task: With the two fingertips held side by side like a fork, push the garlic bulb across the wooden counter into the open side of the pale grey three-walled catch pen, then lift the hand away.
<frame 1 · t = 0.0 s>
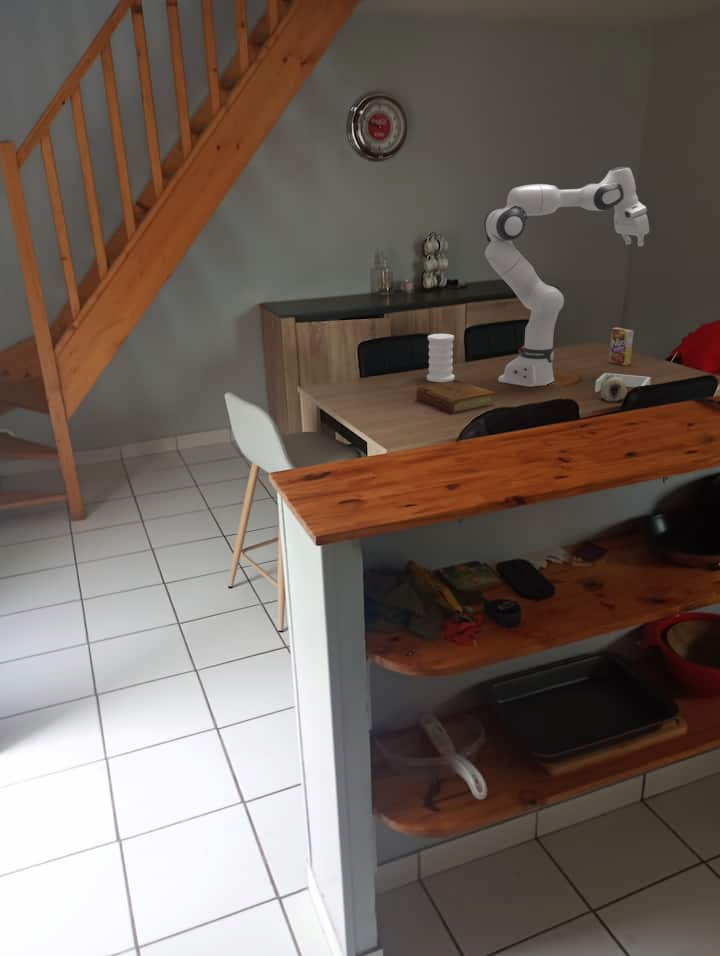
hand: (634, 244, 290), 52 cm above the table, tool tilted 20°, fingers open, 8 cm apart
candy box: (619, 363, 328), on the table
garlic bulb: (613, 400, 276), on the table
catch pen: (622, 390, 287), on the table
decorative container: (440, 379, 313), on the table
diary: (454, 404, 279), on the table
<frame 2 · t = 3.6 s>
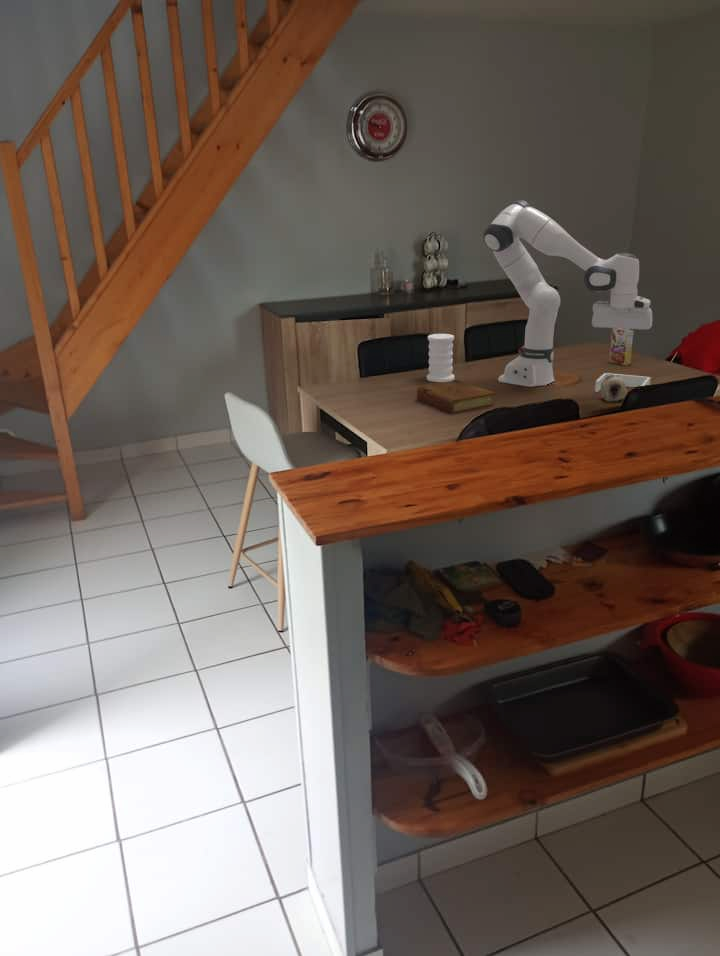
hand: (620, 340, 265), 23 cm above the table, tool pointing down, fingers closed
nothing on the table moved.
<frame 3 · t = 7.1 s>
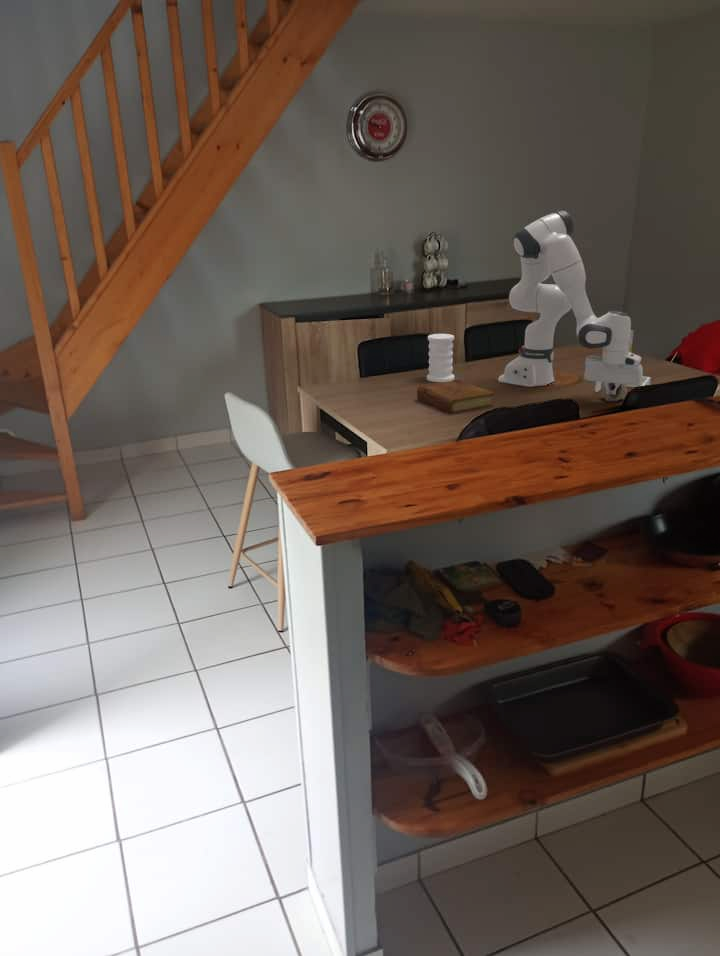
hand: (611, 394, 272), 3 cm above the table, tool pointing down, fingers closed
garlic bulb: (613, 399, 276), on the table, touching gripper
everything else where it was.
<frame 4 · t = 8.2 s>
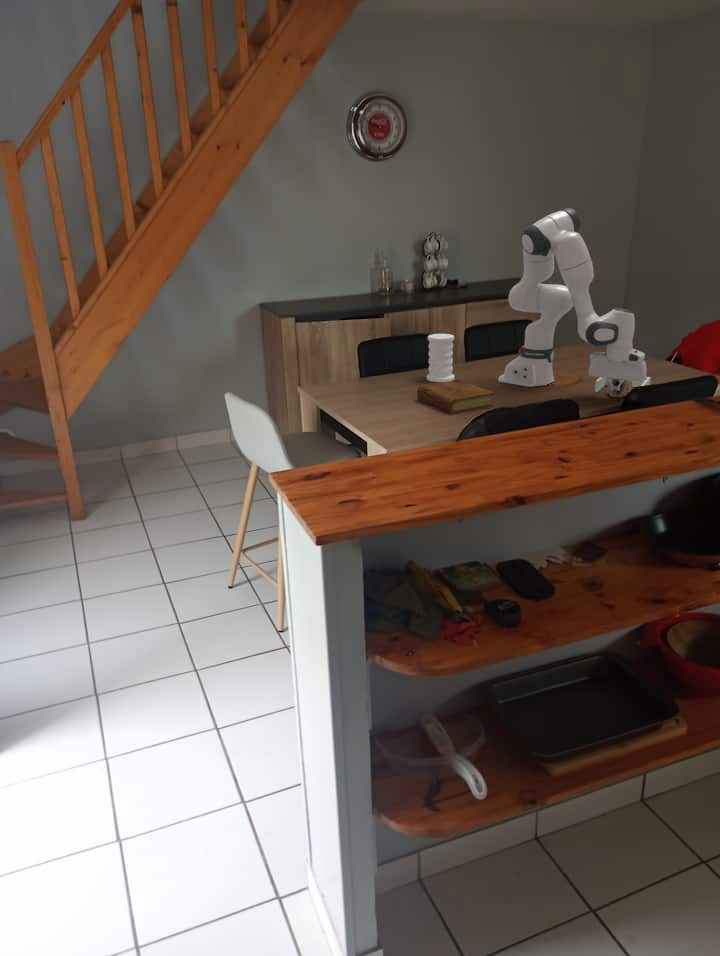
hand: (615, 390, 276), 3 cm above the table, tool pointing down, fingers closed, pressing on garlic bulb
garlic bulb: (618, 396, 280), on the table, touching gripper
everything else where it was.
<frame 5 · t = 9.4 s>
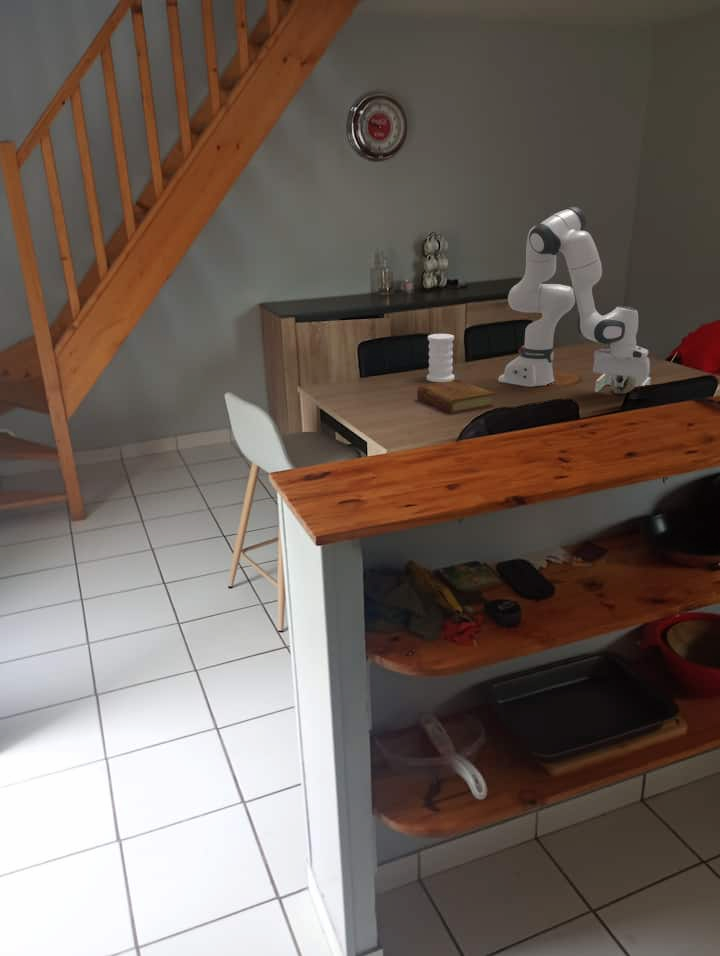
hand: (619, 386, 281), 3 cm above the table, tool pointing down, fingers closed, pressing on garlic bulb
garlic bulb: (622, 392, 285), on the table, touching gripper
everything else where it was.
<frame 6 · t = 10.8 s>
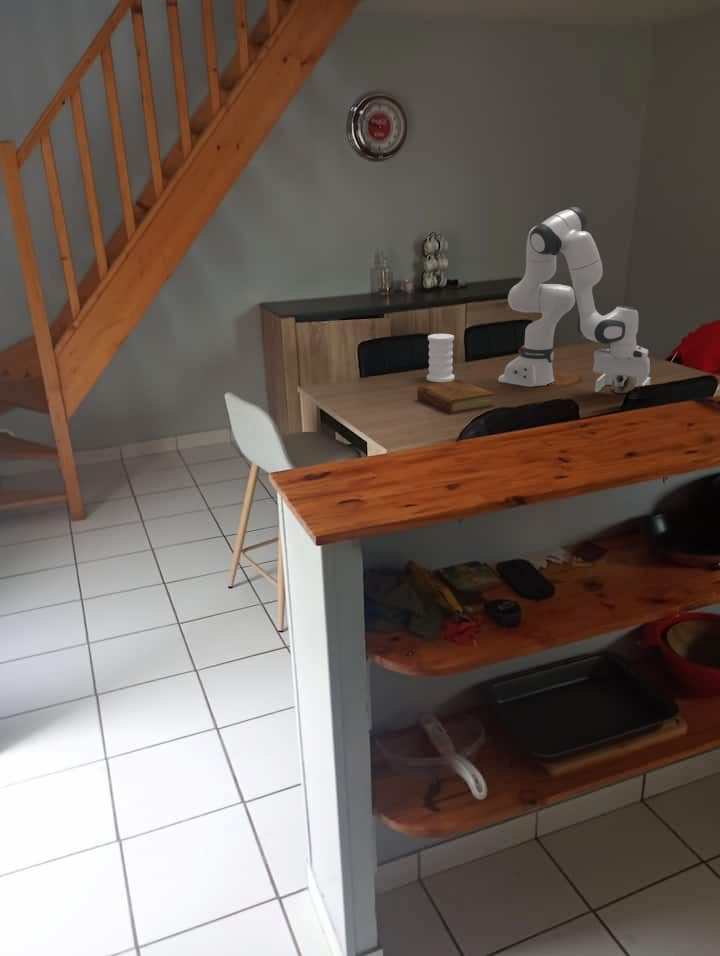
hand: (619, 386, 281), 3 cm above the table, tool pointing down, fingers closed
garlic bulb: (623, 392, 286), on the table
everything else where it was.
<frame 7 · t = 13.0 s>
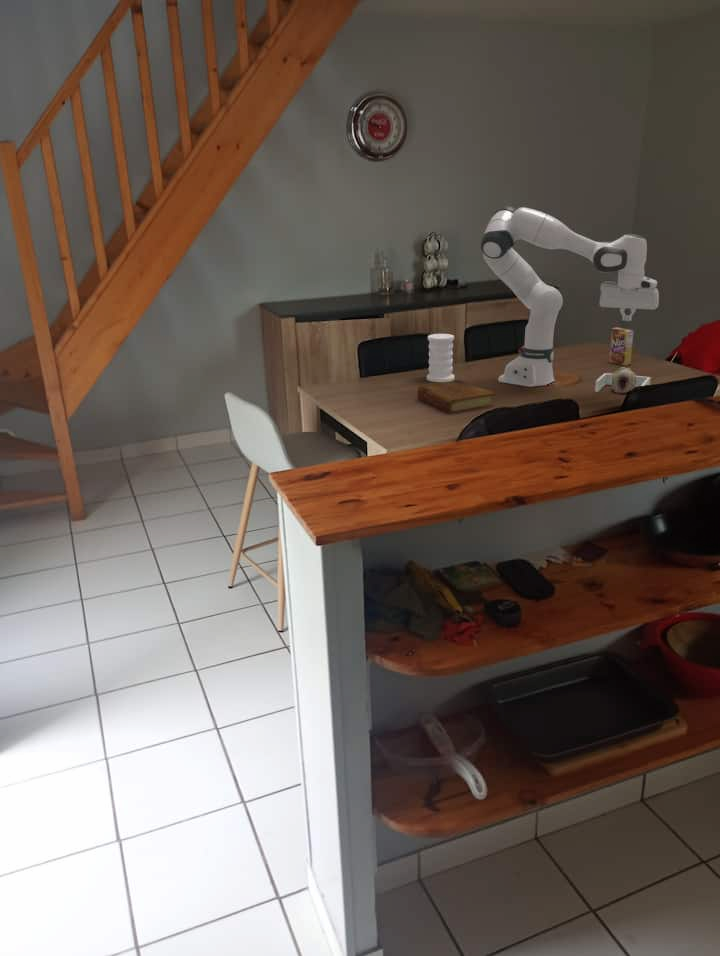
hand: (626, 320, 270), 28 cm above the table, tool pointing down, fingers closed
nothing on the table moved.
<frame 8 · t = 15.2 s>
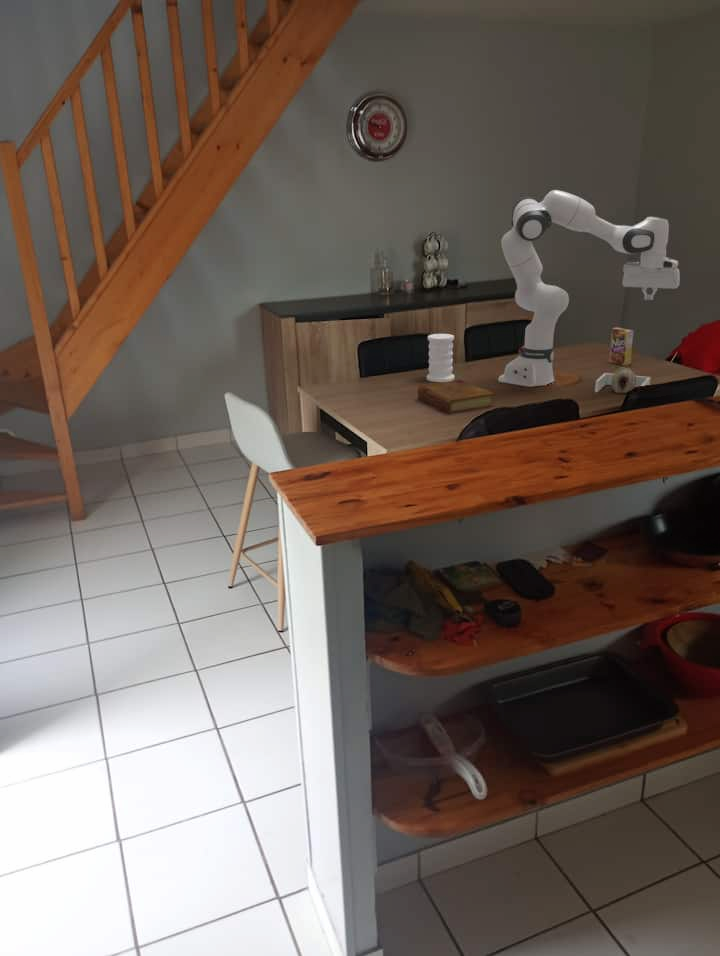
hand: (648, 299, 283), 33 cm above the table, tool pointing down, fingers closed
nothing on the table moved.
at the end: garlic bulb inside the target area on the catch pen (2.0 cm from its centre), point 0.0 cm above the catch pen's base; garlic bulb moved 12.7 cm from its start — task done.
